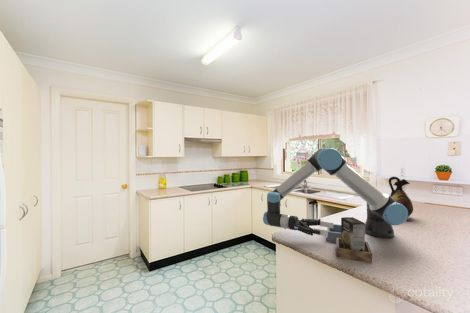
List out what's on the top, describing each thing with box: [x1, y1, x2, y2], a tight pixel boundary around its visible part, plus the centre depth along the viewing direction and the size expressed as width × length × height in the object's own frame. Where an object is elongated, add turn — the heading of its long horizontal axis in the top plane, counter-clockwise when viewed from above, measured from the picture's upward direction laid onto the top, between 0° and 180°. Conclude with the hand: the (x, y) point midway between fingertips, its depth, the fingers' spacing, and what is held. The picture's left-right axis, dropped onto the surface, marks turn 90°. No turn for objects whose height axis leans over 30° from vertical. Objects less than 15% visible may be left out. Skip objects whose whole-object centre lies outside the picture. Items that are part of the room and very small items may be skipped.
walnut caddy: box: [335, 238, 373, 264], centre depth 103 cm, size 14×14×4 cm
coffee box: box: [340, 216, 366, 252], centre depth 103 cm, size 9×6×16 cm
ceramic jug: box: [388, 176, 414, 220], centre depth 158 cm, size 17×15×30 cm
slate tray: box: [326, 223, 341, 243], centre depth 122 cm, size 15×15×5 cm
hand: (330, 229), depth 108 cm, fingers open, 13 cm apart
